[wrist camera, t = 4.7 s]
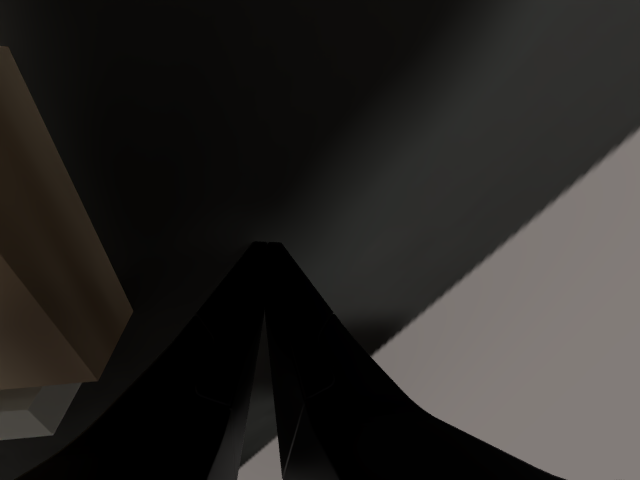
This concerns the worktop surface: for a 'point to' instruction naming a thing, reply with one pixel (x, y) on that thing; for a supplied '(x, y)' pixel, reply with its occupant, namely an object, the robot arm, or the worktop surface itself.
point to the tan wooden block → (48, 258)
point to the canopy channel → (34, 410)
